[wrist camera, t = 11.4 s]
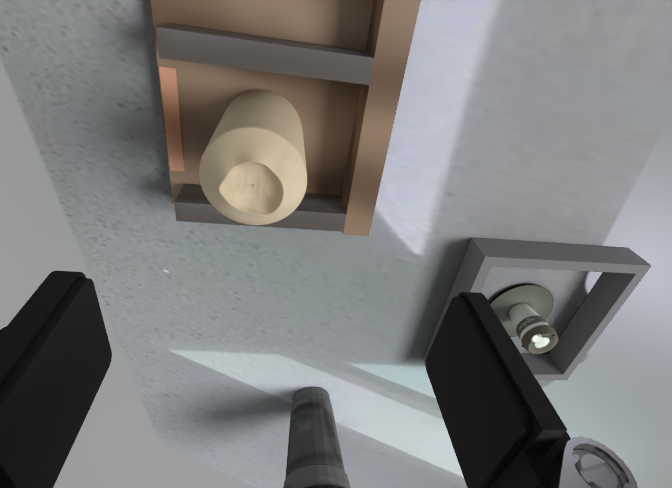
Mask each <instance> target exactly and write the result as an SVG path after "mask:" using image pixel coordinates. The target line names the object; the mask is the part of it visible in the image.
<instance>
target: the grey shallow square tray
mask: <svg viewBox="0 0 672 488" xmlns="http://www.w3.org/2000/svg"><path fill="white" fill-rule="evenodd" d="M492 266H496V267H515V268H535V269H554V270H574V271H595V272H603V273H602V274H601V276H600V277H599V279H598V280H597V282H596V283H595V285H594V286H593V288H592V289H591V291H590V292H589V294H588V295H587V297H586V298H585V300H584V301H583V303H582V304H581V306H580V307H579V309H578V310H577V312H576V313H575V315H574V317H573V318H572V320H571V321H570V323H569V324H568V326H567V327H566V329H565V330H564V332H563V333H562V335H561V336H560V338H559V339H558V342H557V344H556V345H555V346H554V347H553V348H552V350H551V351H550V353H549V354H521V356H522V357H523V359H524V360H525V362H526V364H527V365H528V367H529V369H530V370H531V372H532V373H533V375H534V377H535V378H536V380H567V379H568V378H569V376H570V375H571V374H572V372H573V371H574V370H575V368H576V367H577V365H578V364H579V363H580V361H581V360H582V359H583V357H584V356H585V355H586V353H587V352H588V351H589V349H590V348H591V347H592V345H593V344H594V342H595V341H596V340H597V338H598V337H599V336H600V335H601V333H602V332H603V330H604V329H605V328H606V326H607V325H608V324H609V322H610V321H611V320H612V318H613V317H614V315H615V314H616V313H617V312H618V310H619V309H620V308H621V306H622V305H623V304H624V302H625V301H626V299H627V298H628V297H629V295H630V294H631V293H632V291H633V290H634V289H635V287H636V286H637V285H638V283H639V282H640V281H641V279H642V278H643V277H644V275H645V274H646V272H647V271H648V270H649V268H650V267H651V265H650V264H648V263H647V262H646V261H645V260H643V259H642V258H641V257H639V256H638V255H637V254H635V253H634V252H633V251H631V250H630V249H629V248H624V247H608V246H593V245H577V244H562V243H546V242H530V241H515V240H499V239H484V238H471V240H470V243H469V245H468V248H467V250H466V253H465V255H464V258H463V260H462V263H461V266H460V268H459V271H458V273H457V276H456V278H455V281H454V283H453V286H452V288H451V291H450V293H449V296H448V298H447V301H446V303H445V306H444V308H443V311H442V313H441V316H440V318H439V321H438V323H437V326H436V328H435V331H434V333H433V336H432V338H431V341H430V343H429V346H428V348H427V351H426V353H425V356H424V358H423V359H424V361H425V364H426V357H427V355H428V353H429V350H430V348H431V346H432V344H433V341H434V339H435V337H436V334H437V332H438V330H439V327H440V325H441V323H442V321H443V318H444V316H445V314H446V311H447V309H448V307H449V305H450V302H451V300H452V298H453V297H457V296H458V294H459V293H460V292H475V293H480V291H481V289H482V287H483V284H484V282H485V280H486V278H487V276H488V273H489V271H490V269H491V267H492Z"/></svg>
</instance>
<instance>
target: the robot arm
mask: <svg viewBox="0 0 672 488" xmlns="http://www.w3.org/2000/svg"><path fill="white" fill-rule="evenodd" d="M111 357H112V352H111V348H110V344H109V341H108V336H107V333H106V329H105V325H104V321H103V317H102V314H101V310H100V307H99V302H98V298H97V295H96V291H95V287H94V283H93V281H92V280H91V279H88V278H86V277H85V275H84V274H83V273H82V272H69V271H53V272H51V273H50V274H49V275H48V277H47V278H46V279H45V280H44V282H43V283H42V284H41V285H40V286H39V288H38V289H37V290H36V291H35V293H34V294H33V295H32V296H31V297H30V299H29V300H28V301H27V302H26V304H25V305H24V306H23V307H22V309H21V310H20V311H19V312H18V313H17V315H16V316H15V317H14V318H13V320H12V321H11V322H10V323H9V325H8V326H7V327H4V328H2V329H1V330H0V488H53V486H54V484H55V482H56V480H57V478H58V475H59V473H60V471H61V469H62V467H63V465H64V462H65V460H66V458H67V456H68V454H69V452H70V450H71V448H72V445H73V443H74V441H75V439H76V437H77V434H78V432H79V430H80V428H81V426H82V424H83V422H84V420H85V417H86V415H87V413H88V411H89V409H90V406H91V405H92V402H93V400H94V398H95V396H96V393H97V392H98V390H99V387H100V385H101V383H102V381H103V379H104V377H105V374H106V372H107V370H108V368H109V366H110V362H111ZM426 370H427V373H428V376H429V379H430V382H431V385H432V388H433V391H434V393H435V396H436V399H437V402H438V405H439V408H440V411H441V413H442V416H443V419H444V422H445V425H446V428H447V431H448V433H449V436H450V439H451V442H452V445H453V448H454V450H455V453H456V456H457V459H458V462H459V465H460V468H461V470H462V473H463V476H464V479H465V482H466V485H467V487H468V488H638V487H637V483H636V480H635V478H634V477H633V475H632V473H631V471H630V470H629V468H628V467H627V466H626V464H625V463H624V462H623V461H622V459H620V458H619V457H618V456H617V455H616V454H615V453H614V452H613V451H612V450H610V449H609V448H607V447H606V446H605V445H603V444H602V443H599V442H597V441H595V440H593V439H590V438H585V437H575V438H572V439H571V438H570V437H569V435H568V433H567V432H566V430H567V429H566V427H565V425H564V424H563V422H562V420H561V419H560V417H559V416H558V414H557V412H556V411H555V409H554V407H553V406H552V404H551V403H550V401H549V399H548V398H547V396H546V395H545V393H544V391H543V390H542V388H541V386H540V385H539V383H538V382H537V380H536V378H535V377H534V375H533V373H532V372H531V370H530V369H529V367H528V365H527V364H526V362H525V360H524V359H523V357H522V356H521V354H520V352H519V351H518V349H517V348H516V346H515V344H514V343H513V341H512V339H511V338H510V336H509V335H508V333H507V331H506V330H505V328H504V326H503V325H502V323H501V322H500V320H499V318H498V317H497V315H496V313H495V312H494V310H493V309H492V307H491V305H490V304H489V302H488V301H487V299H486V297H485V296H484V295H483V294H482V293H475V292H460V293H459V294H458V296H457V297H453V298H452V300H451V302H450V305H449V307H448V309H447V311H446V314H445V316H444V318H443V321H442V323H441V325H440V327H439V330H438V332H437V334H436V337H435V339H434V341H433V344H432V346H431V348H430V350H429V353H428V355H427V357H426Z"/></svg>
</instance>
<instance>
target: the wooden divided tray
mask: <svg viewBox="0 0 672 488" xmlns="http://www.w3.org/2000/svg"><path fill="white" fill-rule="evenodd" d="M150 1H151V10H152V19H153V29H154V38H155V47H156V56H157V65H158V75H159V84H160V93H161V102H162V111H163V121H164V130H165V139H166V148H167V157H168V167H169V176H170V185H171V194H172V203H175V212H176V221H185V222H201V223H217V224H233V225H248V226H264V227H280V228H296V229H312V230H328V231H342V232H343V234H346V235H363V236H369V232H370V227H371V223H372V218H373V214H374V209H375V205H376V200H377V195H378V191H379V186H380V182H381V177H382V173H383V168H384V164H385V159H386V155H387V150H388V146H389V141H390V137H391V132H392V128H393V123H394V119H395V114H396V109H397V105H398V100H399V96H400V91H401V87H402V82H403V78H404V73H405V69H406V64H407V60H408V55H409V51H410V46H411V42H412V37H413V32H414V28H415V23H416V19H417V14H418V10H419V5H420V1H421V0H150ZM252 90H268V91H272V92H275V93H277V94H279V95H281V96H282V97H284V98H285V99H286V100H288V101H289V102H290V103H291V104H292V105H293V107H294V108H295V110H296V111H297V113H298V115H299V117H300V120H301V124H302V129H303V139H304V149H305V159H306V170H307V187H306V192H305V195H304V197H303V199H302V201H301V203H300V204H299V206H298V207H297V208H296V209H295V210H294V211H293V212H292V213H291V214H290V215H288V216H287V217H285V218H284V219H282V220H280V221H277V222H274V223H271V224H266V225H249V224H244V223H240V222H237V221H234V220H232V219H230V218H228V217H226V216H224V215H223V214H221V213H220V212H219V211H218V210H216V209H215V208H214V207H213V206H212V204H211V203H210V202H209V201H208V199H207V197H206V196H205V194H204V192H203V190H202V187H201V183H200V178H199V167H200V161H201V158H202V155H203V153H204V151H205V149H206V147H207V146H208V144H209V142H210V140H211V138H212V136H213V134H214V132H215V130H216V128H217V126H218V124H219V122H220V121H221V119H222V117H223V115H224V113H225V111H226V109H227V108H228V106H229V105H230V103H231V102H232V101H233V100H234V99H235V98H237V97H238V96H240V95H241V94H243V93H246V92H248V91H252Z"/></svg>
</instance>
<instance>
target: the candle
mask: <svg viewBox="0 0 672 488" xmlns="http://www.w3.org/2000/svg"><path fill="white" fill-rule="evenodd" d="M199 178H200V183H201V187H202V190H203V192H204V194H205V196H206V197H207V199H208V201H209V202H210V203H211V204H212V206H213V207H214V208H215V209H216V210H218V211H219V212H220V213H221V214H223V215H224V216H226V217H228V218H230V219H232V220H234V221H237V222H240V223H244V224H249V225H266V224H271V223H274V222H277V221H280V220H282V219H284V218H285V217H287V216H288V215H290V214H291V213H292V212H293V211H294V210H295V209H296V208H297V207H298V206H299V204H300V203H301V201H302V199H303V197H304V195H305V192H306V187H307V170H306V159H305V149H304V139H303V129H302V124H301V120H300V117H299V115H298V113H297V111H296V110H295V108H294V107H293V105H292V104H291V103H290V102H289V101H288V100H286V99H285V98H284V97H282V96H281V95H279V94H277V93H275V92H272V91H268V90H252V91H248V92H246V93H243V94H241V95H240V96H238V97H237V98H235V99H234V100H233V101H232V102H231V103H230V105H229V106H228V108H227V109H226V111H225V113H224V115H223V117H222V119H221V121H220V122H219V124H218V126H217V128H216V130H215V132H214V134H213V136H212V138H211V140H210V142H209V144H208V146H207V147H206V149H205V151H204V153H203V155H202V158H201V161H200V167H199Z"/></svg>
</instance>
